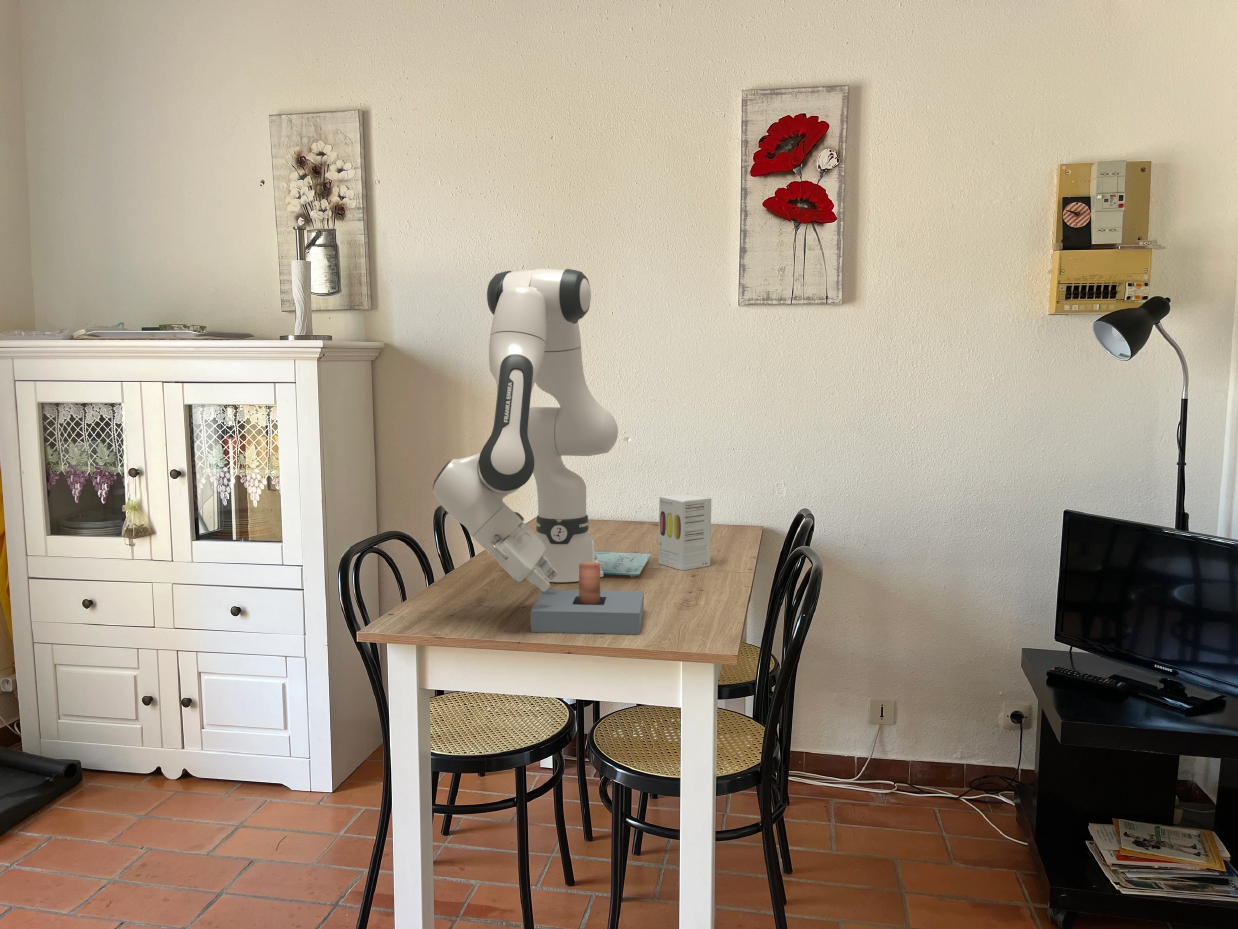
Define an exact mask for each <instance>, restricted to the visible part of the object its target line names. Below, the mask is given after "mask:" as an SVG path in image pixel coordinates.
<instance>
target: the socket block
mask: <svg viewBox="0 0 1238 929" xmlns="http://www.w3.org/2000/svg"><path fill="white" fill-rule="evenodd" d="M644 594H645V593H644V590H608V589H607V590H605V589H604V590H601V589H600V605H579V589H549V588H548V589H547V590H546V591H545V592H543V591H541V594H540V595H539V597H538V598H537V601H536V602H535V603H534V605H533V606H532V608H531V610H530V632H531V633H547V632H552V633H553V632H556V633H558V634H559V633H561V634H593V633H605V634H604V635H639V634H641V630H642V623H643V616H644V611H645V610H644V609H645V608H644V607H645V605H644V604H645V602H644V601H645V596H644ZM563 632H564V633H563ZM556 633H555V634H556Z"/></svg>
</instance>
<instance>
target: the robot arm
mask: <svg viewBox="0 0 1238 929" xmlns="http://www.w3.org/2000/svg"><path fill="white" fill-rule="evenodd" d="M486 300H487V306H488V309H489V311H490V312H491V314H492V315H493V318H492V322H491V326H490V327H491V328H490V335H489V341H488V342H489V344H488V361H489V364H488V365H489V371H490V373H491V375H492V376H493V378H494V380H495V384H496V403H495V410H494V417H493V418H494V419H493V426H492V427H493V428H492V431H491V435H490V436H489V438H488V439H487V441H486V442H485V444H484V445H483V447H482V449H481V451H480V452H478V453H476V454H472V455H469V456H466V457H461V458H452V459H451V460H449V461H448V462H447V463H446V464H445V465H444V466H443V467H442V468H441V470H439V473H438V474H437V475H436V478H435V479H434V481H433V484H432V493H433V496H434V498H435V499H436V500H437V502H438V503H439V505H441V507H442V508H444V510H445V511H446V513H447V514H449V515H450V517H452V518H453V519H454V520H455V521H456V522H458V523H459V524H461V525H463V526H464V527H465V528H466V530H467V532H468V533H469V536H471V537H472V538H473V539H474V540H475V541H476V542H477V543H478V544H479V545H480V546H481V547H482V548H483V549H484V551H486V552H487V554H491V553H492V555H493V557H494V558H495V560H496V561H497V562H498V564H499V565H500V566H501V567H502V568H503V569H504V570H505V571H506V572H507V573H508V575H509V576H510V577H511V578H512V579H513V580H515V581H517V583H520V582H522V581H523V580H524V579H526V580H527V582H528V583H531V584H533V585H534V586H536V587H538V589H539V590H540V591H541V592H545V591H546V590H547V589H549V588H550V587H551V583H575V582H579V564H580V563H583V562H595V561H596V560H598V559H597V558H598V557H597V554H595V541H594V540H593V538H592V537H591V536H590V534H589V528H590V527H589V526H590V520H589V515H588V514H587V485H586V482H585V480H584V479H583V478H582V476H580V475H579V474H578V473H577V472H574V471H572V470H571V469H569V468H567V466H566V465H565V464H564V462H563V458H562V456H568V457H573V456H574V457H591V456H598V455H602V454H608V453H609V452H610V451H612V449H613V448H614V446H615V445H616V443H617V440H618V434H619V429H618V424H617V421H616V419H615V417H614V416H613V415H612V413H611V412H610V411H608V410H607V409H605V408H604V407H603V406H602V405H601V404H600V403H599V402H598V401H597V400H596V399H595V398H594V396H593V395H592V392H591V391H590V390H589V387H588V385H587V382H586V379H585V373H584V366H583V356H582V355H583V353H582V342H581V341H582V340H581V339H582V338H581V331H580V325H579V320H581V319H583V318H584V317H585V316H586V314H588V312H589V310H590V307H591V306H590V305H591V300H592V290H591V284H590V282H589V279H588V278H587V276H586V275H585V273H583V271H580V270H577V269H571V268H566V269H557V268H545V267H544V268H543V267H541V268H536V269H523V270H515V271H511V270H505V271H501V272H498V273H496V274H495V275H494V276H493V277H492V279H490V281H489V282H488V286H487V291H486ZM534 385H536V386H537V387H538V389H539V390H542V391H543V392H544V393H547V394H549V395H550V396H552V397H553V398H554V399H555V401H557V403H558V405H559V407H557V406H555V407H553V406H552V407H551V406H542V407H541V406H533V407H531V398H532V391H533V387H534ZM532 475H533V476H534V480H535V483H536V492H537V494H536V495H537V514H538V515H537V516H536V521H535V525H536V528H535V530H536V532H537V533H536V532H534V531H533V529H532V528H531V527H530V526H529V525H528V524H527V523H526V522H524V521H525V518H524V516H523V515H521V513H519V512H518V511H514V510H512V509H511V508H510V507H509V506H508V505H507V504H506V503H505V502H504V498H505V497H508V496H509V495H511V494H513V493H515V492H517V491H518V490H520V488H521V487H523V486H524V485H526V484H527V483H528V482H529V480H530V479H531V477H532ZM598 563H600V562H599V561H598ZM603 577H604V571H603V569H602V566H600V578H603Z"/></svg>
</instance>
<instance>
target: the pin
mask: <svg viewBox="0 0 1238 929" xmlns="http://www.w3.org/2000/svg"><path fill="white" fill-rule="evenodd" d="M600 567H601V564H600V562H599V563H597V562H583V563H580V564H579V581H578V590H579V605H600V590H601V577H600Z"/></svg>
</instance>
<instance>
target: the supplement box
mask: <svg viewBox="0 0 1238 929" xmlns="http://www.w3.org/2000/svg"><path fill="white" fill-rule="evenodd" d="M658 504H659V506H658V508H659V509H658V510H659V511H658V514H659V516H658V519H659V520H658V564H660V565H662V566H666V567H669V568H671V569H676V570H679V571H687V570H693V569H700V568H703V567H710V566H711V542H712V539H711V536H712V534H711V533H712V498H711V497H706V496H705V497H704V496H701V495H695V494H690V493H680V494H679V493H678V494H671V495H662V496H661V495H660V496H659V502H658Z"/></svg>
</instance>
